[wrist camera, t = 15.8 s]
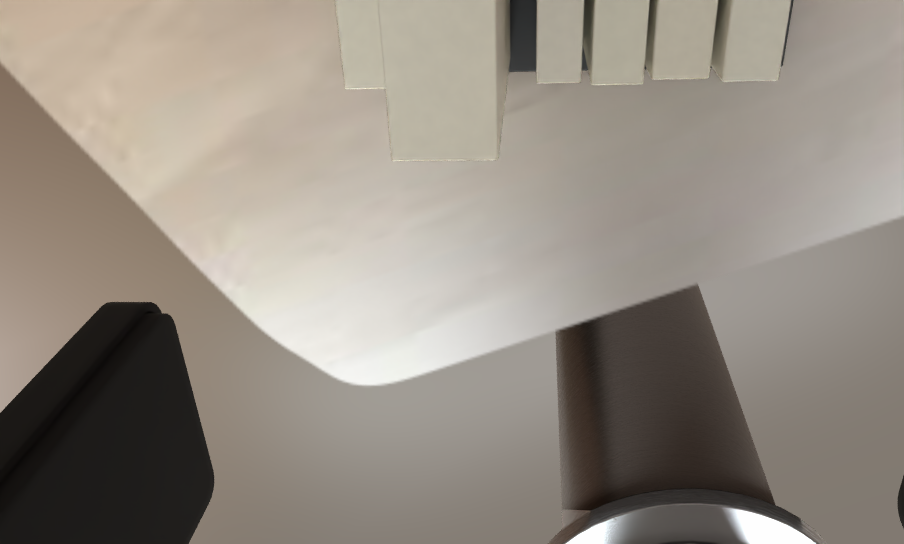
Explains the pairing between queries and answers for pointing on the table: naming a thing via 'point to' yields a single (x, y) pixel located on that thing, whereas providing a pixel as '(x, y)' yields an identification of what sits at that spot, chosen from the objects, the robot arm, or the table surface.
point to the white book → (445, 77)
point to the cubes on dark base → (607, 40)
